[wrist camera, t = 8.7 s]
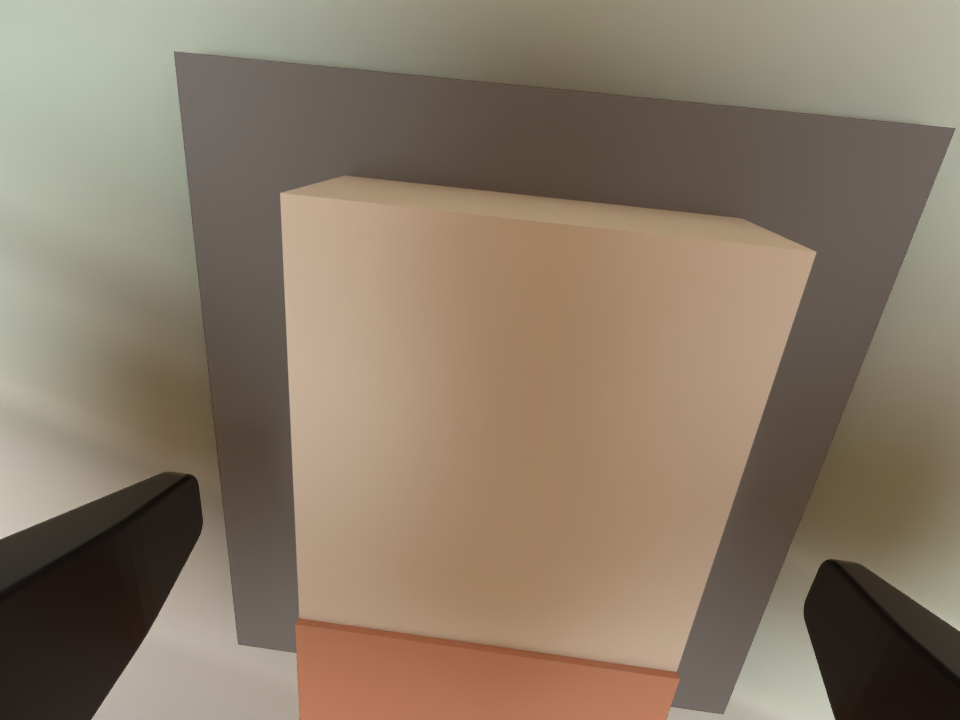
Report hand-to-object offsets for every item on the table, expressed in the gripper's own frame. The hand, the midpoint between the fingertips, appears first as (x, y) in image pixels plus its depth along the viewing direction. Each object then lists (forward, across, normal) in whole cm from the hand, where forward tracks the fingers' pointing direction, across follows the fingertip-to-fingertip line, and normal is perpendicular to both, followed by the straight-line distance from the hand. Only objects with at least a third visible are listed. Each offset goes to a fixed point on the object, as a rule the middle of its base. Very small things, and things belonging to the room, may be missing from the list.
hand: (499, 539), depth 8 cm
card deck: (+2, 0, 0) cm, 2 cm away
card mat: (+3, 0, 0) cm, 3 cm away
